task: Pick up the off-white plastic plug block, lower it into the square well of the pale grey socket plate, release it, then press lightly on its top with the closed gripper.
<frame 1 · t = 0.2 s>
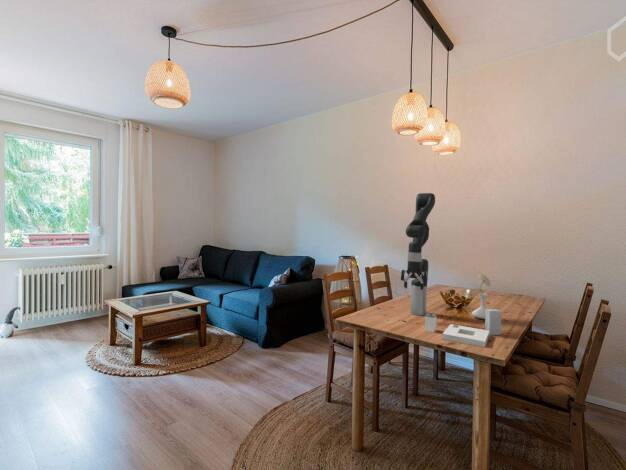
hand: (413, 289, 188), 17 cm above the table, tool pointing down, fingers open, 8 cm apart
skincare box: (492, 334, 166), on the table
plug: (430, 330, 170), on the table
socket plate: (466, 337, 160), on the table
flower in vase: (482, 317, 195), on the table
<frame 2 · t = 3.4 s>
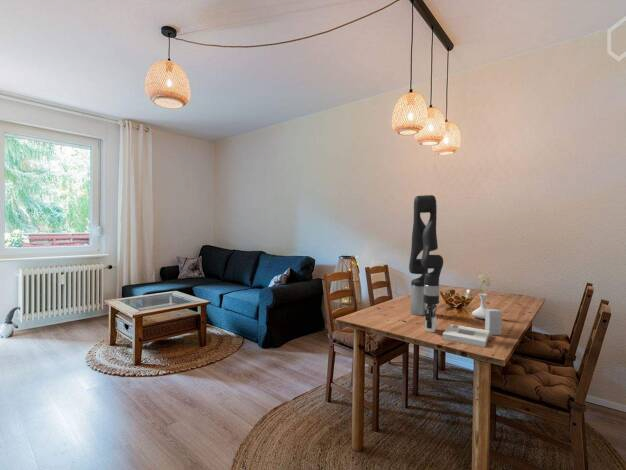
hand: (430, 326, 170), 2 cm above the table, tool pointing down, fingers closed on plug, 4 cm apart
plug: (430, 330, 170), on the table, touching gripper
everything else where it was.
when the fingers open (3 cm above the table, at t = 9.6 s): plug stays where it is, resting on socket plate.
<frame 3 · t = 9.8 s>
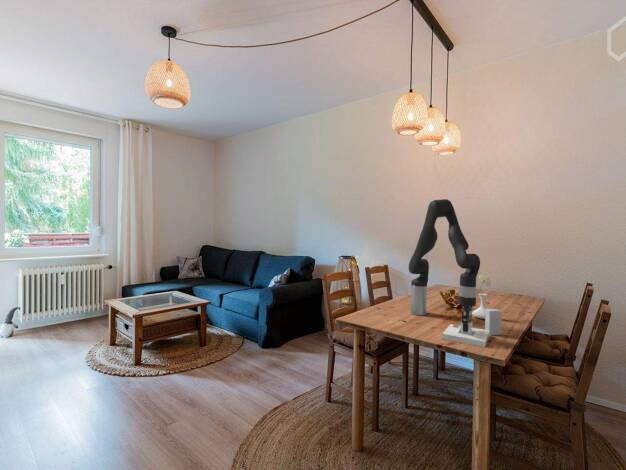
hand: (466, 329, 160), 4 cm above the table, tool pointing down, fingers open, 6 cm apart
plug: (466, 336, 160), point 1 cm above the table, touching socket plate
everything else where it was.
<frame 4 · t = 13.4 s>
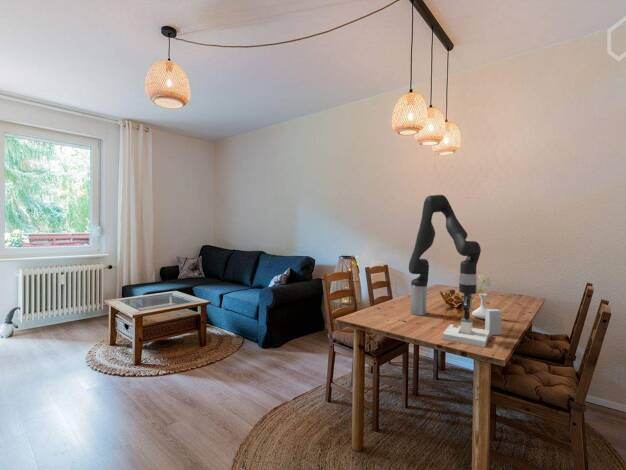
hand: (466, 318, 160), 9 cm above the table, tool pointing down, fingers closed
plug: (466, 336, 160), point 1 cm above the table, touching gripper, socket plate
everything else where it was.
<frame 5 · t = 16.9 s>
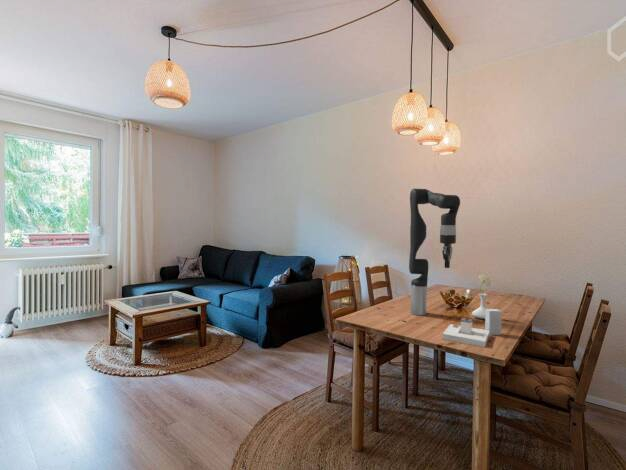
hand: (447, 267, 171), 32 cm above the table, tool pointing down, fingers closed
plug: (466, 336, 160), point 1 cm above the table, touching socket plate
everything else where it was.
at the end: plug 0.1 cm off-centre on the socket plate, point 0.6 cm above the socket plate's base; plug tilted 0°; the gripper is holding nothing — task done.
